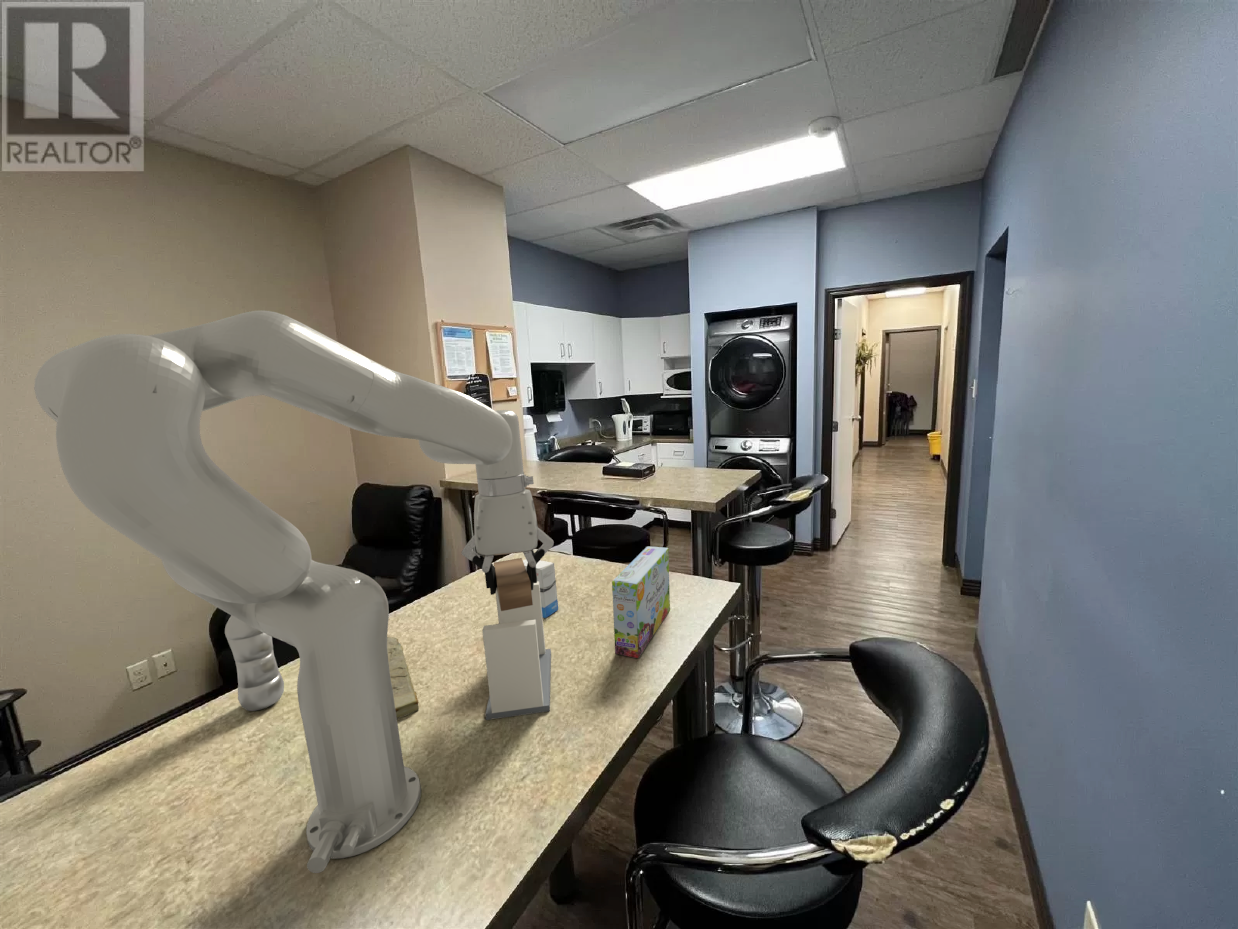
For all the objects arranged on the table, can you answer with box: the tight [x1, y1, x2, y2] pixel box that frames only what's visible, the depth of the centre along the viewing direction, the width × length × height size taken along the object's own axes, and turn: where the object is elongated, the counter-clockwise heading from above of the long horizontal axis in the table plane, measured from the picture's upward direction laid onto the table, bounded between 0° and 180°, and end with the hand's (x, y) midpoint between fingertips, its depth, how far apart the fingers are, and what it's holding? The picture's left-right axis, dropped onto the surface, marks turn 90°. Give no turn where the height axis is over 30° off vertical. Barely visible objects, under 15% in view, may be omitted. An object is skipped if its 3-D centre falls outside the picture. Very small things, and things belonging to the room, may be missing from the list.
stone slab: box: [387, 636, 420, 720], centre depth 88 cm, size 12×4×30 cm
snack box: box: [611, 545, 671, 659], centre depth 99 cm, size 21×6×15 cm, turn 158°
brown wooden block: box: [493, 557, 533, 611], centre depth 82 cm, size 12×5×4 cm, turn 18°
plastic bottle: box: [224, 615, 285, 712], centre depth 82 cm, size 6×7×20 cm
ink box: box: [522, 558, 559, 619], centre depth 111 cm, size 8×5×12 cm, turn 58°
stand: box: [482, 581, 552, 721], centre depth 83 cm, size 17×10×15 cm, turn 7°
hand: (512, 588), depth 82 cm, fingers closed on brown wooden block, 5 cm apart
